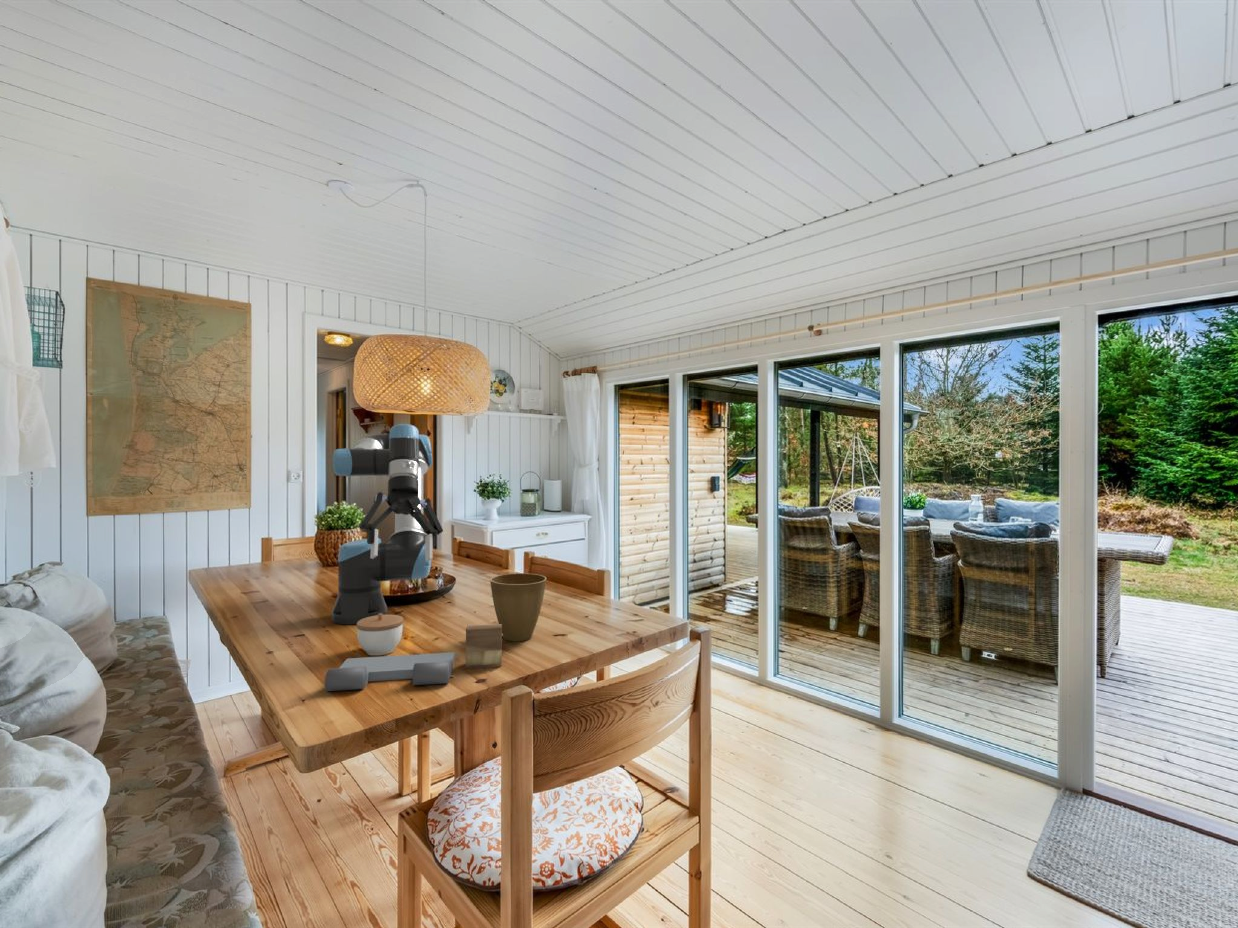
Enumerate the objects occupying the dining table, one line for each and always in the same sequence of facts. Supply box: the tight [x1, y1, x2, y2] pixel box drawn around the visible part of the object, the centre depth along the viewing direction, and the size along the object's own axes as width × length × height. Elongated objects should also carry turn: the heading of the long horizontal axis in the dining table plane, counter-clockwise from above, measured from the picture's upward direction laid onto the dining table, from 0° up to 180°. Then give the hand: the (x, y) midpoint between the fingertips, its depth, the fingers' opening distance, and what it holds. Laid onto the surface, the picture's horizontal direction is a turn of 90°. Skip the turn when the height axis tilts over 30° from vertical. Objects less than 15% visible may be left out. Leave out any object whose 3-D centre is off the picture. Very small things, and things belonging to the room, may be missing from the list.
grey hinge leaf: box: [324, 651, 456, 692], centre depth 123 cm, size 15×24×4 cm, turn 101°
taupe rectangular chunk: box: [465, 623, 503, 669], centre depth 130 cm, size 4×8×9 cm, turn 100°
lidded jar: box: [356, 613, 404, 656], centre depth 139 cm, size 11×11×9 cm
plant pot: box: [489, 572, 547, 642], centre depth 150 cm, size 15×15×16 cm
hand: (402, 558), depth 138 cm, fingers open, 13 cm apart
